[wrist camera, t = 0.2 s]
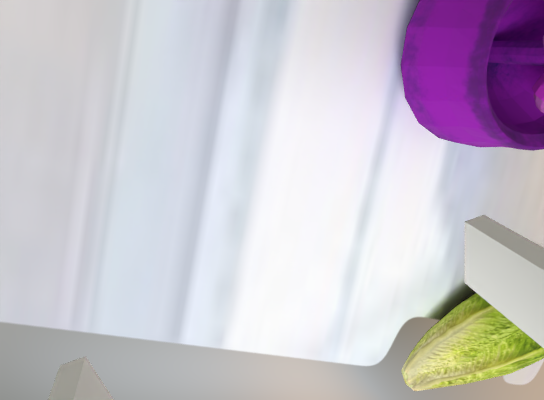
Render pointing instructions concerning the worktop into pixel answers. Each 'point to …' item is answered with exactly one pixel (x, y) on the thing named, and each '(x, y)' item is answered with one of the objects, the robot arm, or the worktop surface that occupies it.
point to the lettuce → (469, 348)
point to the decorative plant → (477, 71)
